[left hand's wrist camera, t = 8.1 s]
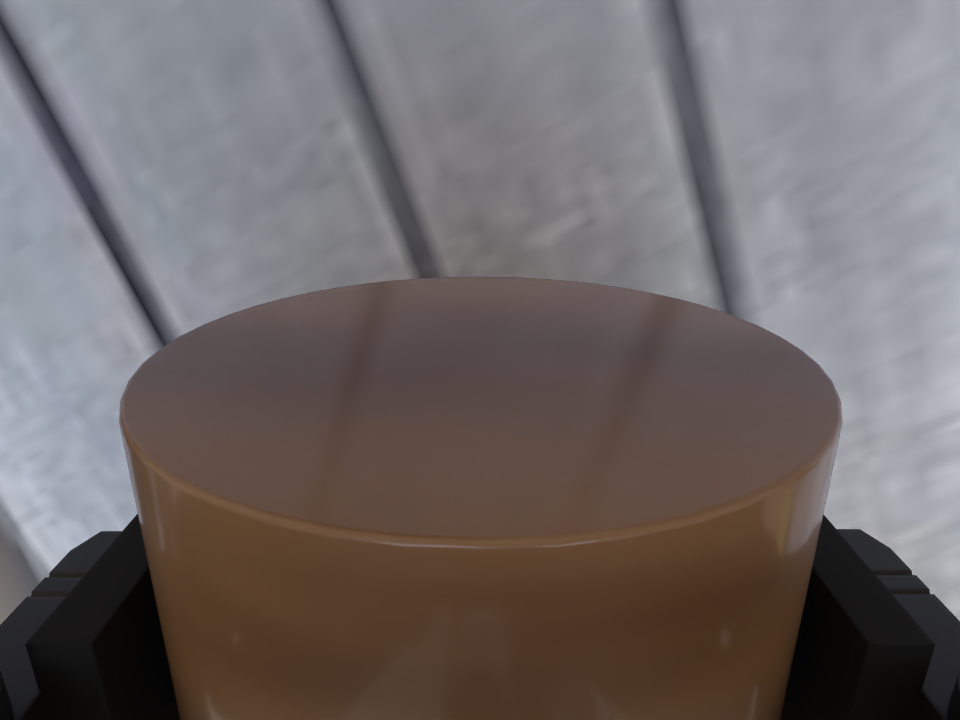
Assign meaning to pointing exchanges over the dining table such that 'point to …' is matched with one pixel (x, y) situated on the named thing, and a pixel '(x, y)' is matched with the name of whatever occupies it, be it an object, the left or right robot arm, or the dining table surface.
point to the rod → (480, 504)
